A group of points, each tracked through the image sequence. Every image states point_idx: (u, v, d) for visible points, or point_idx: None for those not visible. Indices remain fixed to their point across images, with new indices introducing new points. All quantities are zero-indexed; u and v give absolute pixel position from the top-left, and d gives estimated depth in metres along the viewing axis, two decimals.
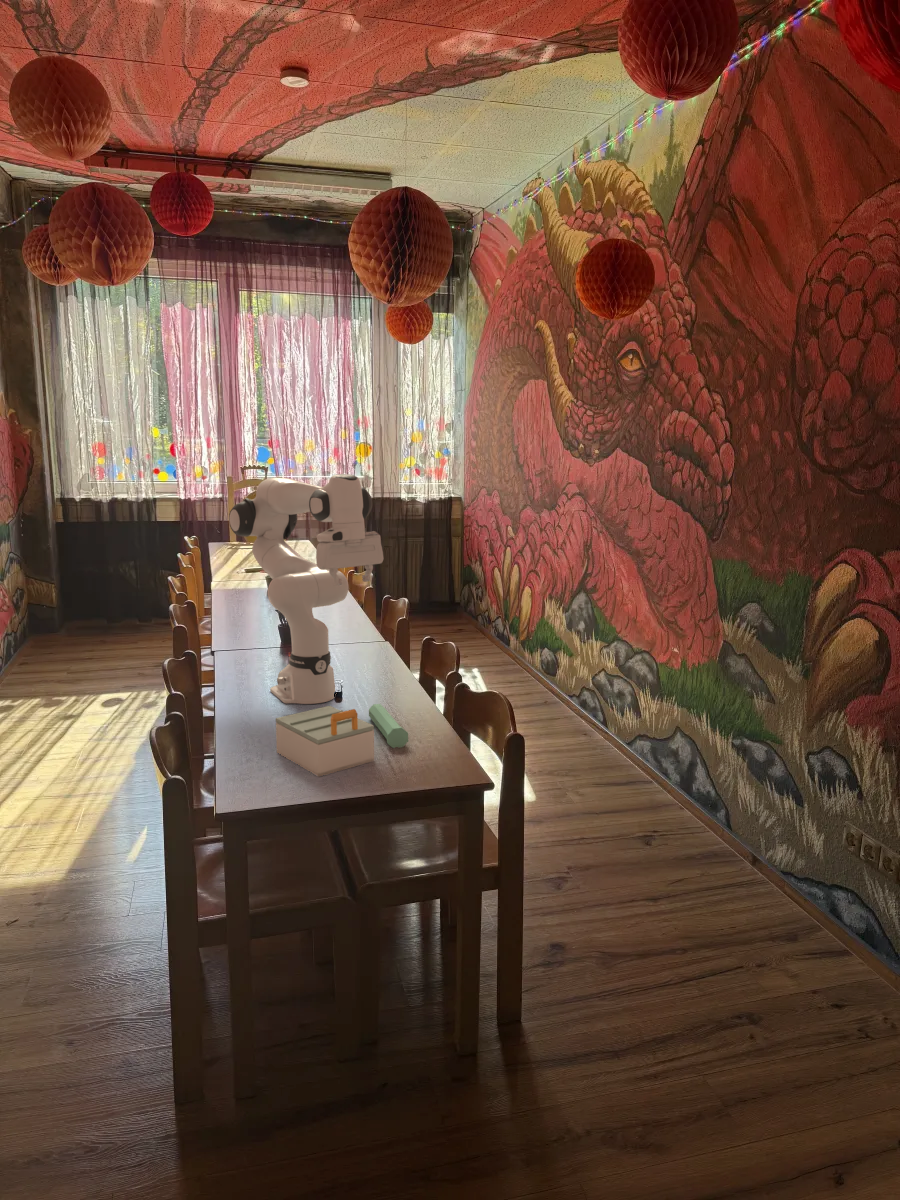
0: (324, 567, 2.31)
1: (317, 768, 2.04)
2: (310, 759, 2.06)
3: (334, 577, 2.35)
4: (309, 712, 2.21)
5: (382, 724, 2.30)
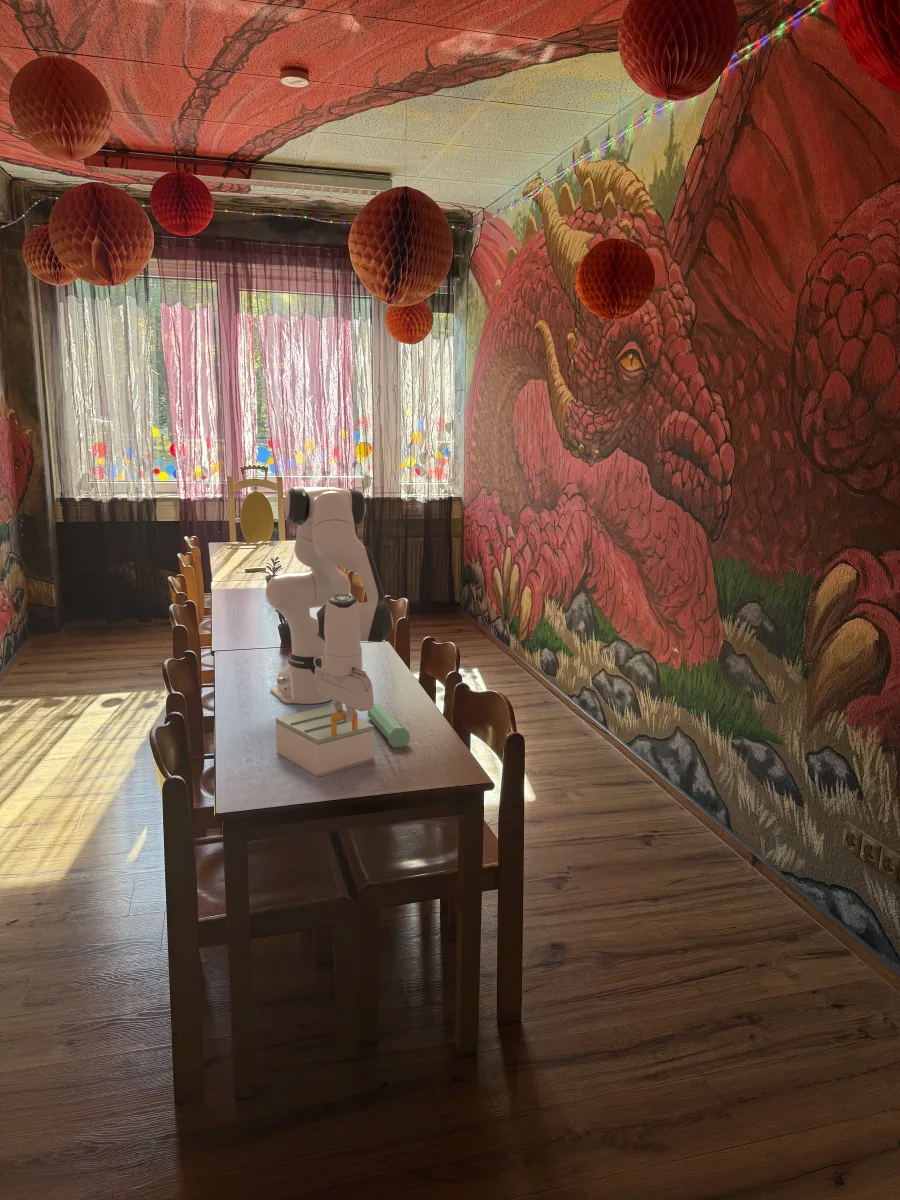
0: None
1: (317, 768, 2.04)
2: (310, 759, 2.06)
3: None
4: (309, 712, 2.21)
5: (383, 724, 2.30)
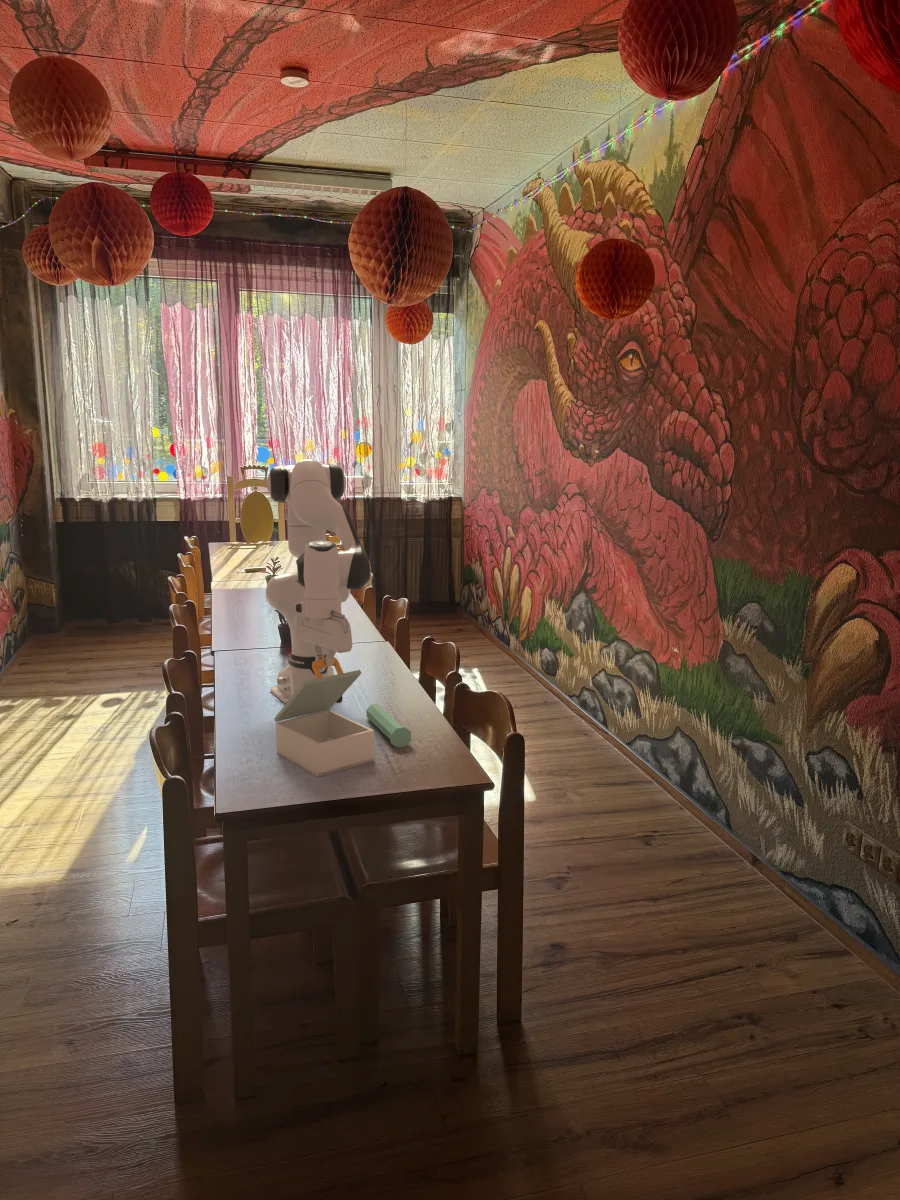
0: None
1: (317, 768, 2.04)
2: (310, 759, 2.06)
3: None
4: None
5: (383, 724, 2.30)
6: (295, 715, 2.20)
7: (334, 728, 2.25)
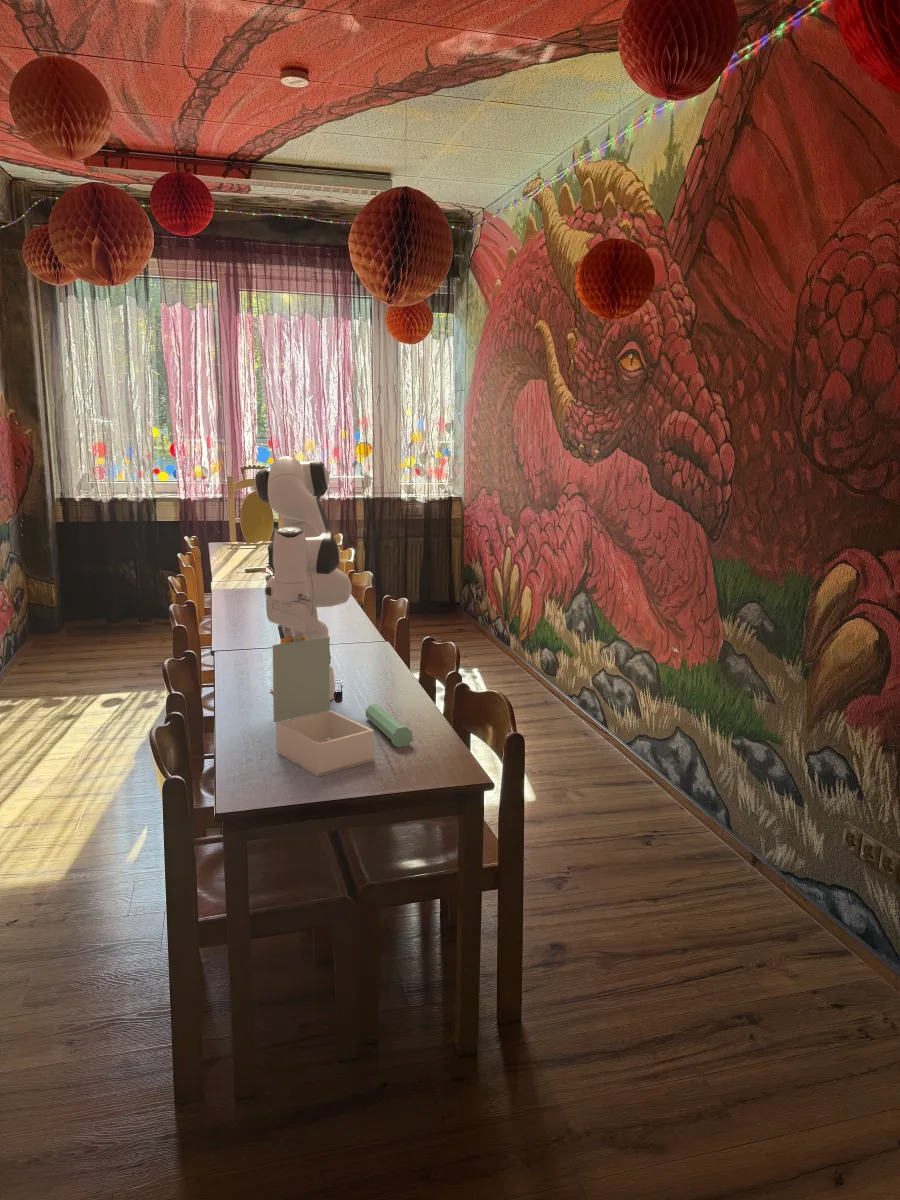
0: None
1: (317, 768, 2.04)
2: (310, 759, 2.06)
3: None
4: None
5: (384, 724, 2.30)
6: (293, 713, 2.20)
7: (334, 728, 2.25)
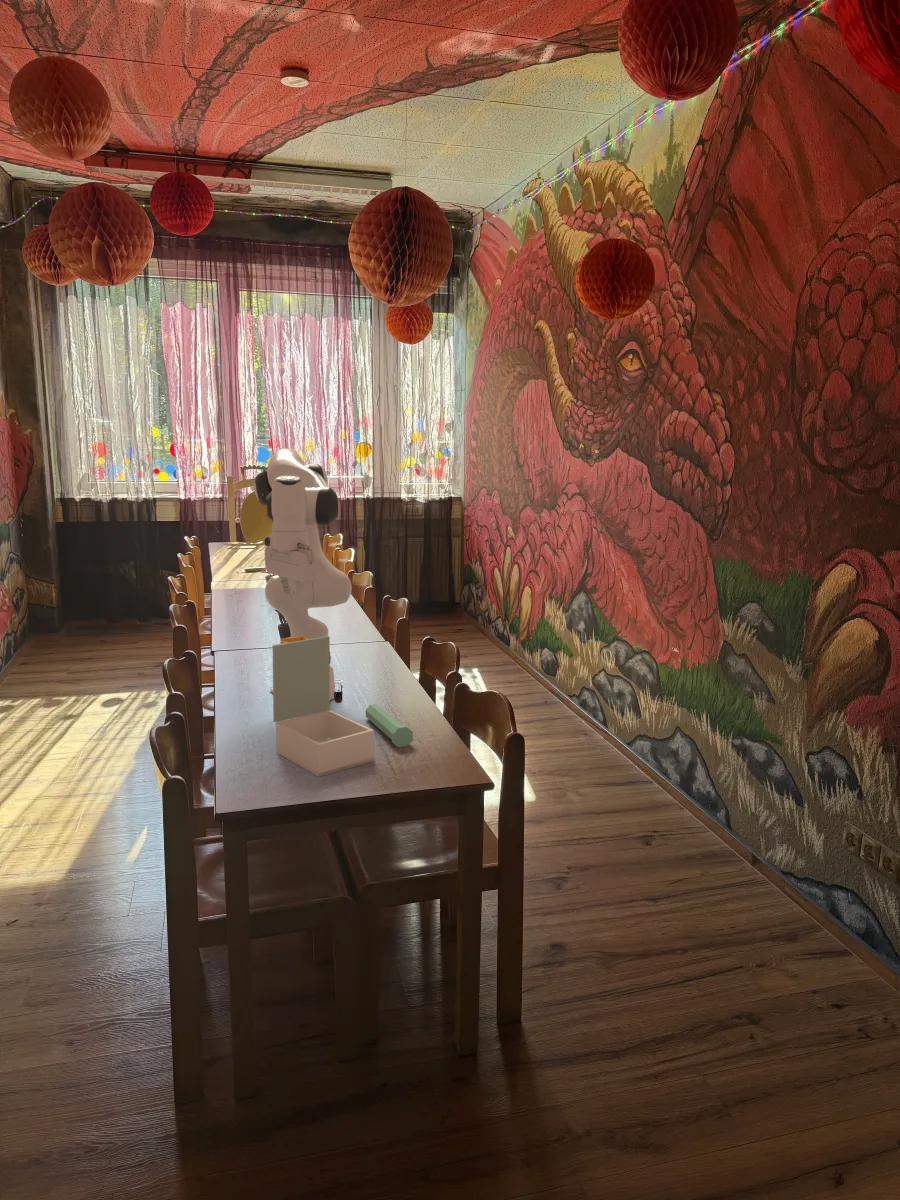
0: None
1: (317, 768, 2.04)
2: (310, 759, 2.06)
3: None
4: None
5: (384, 724, 2.30)
6: (293, 713, 2.20)
7: (334, 728, 2.25)
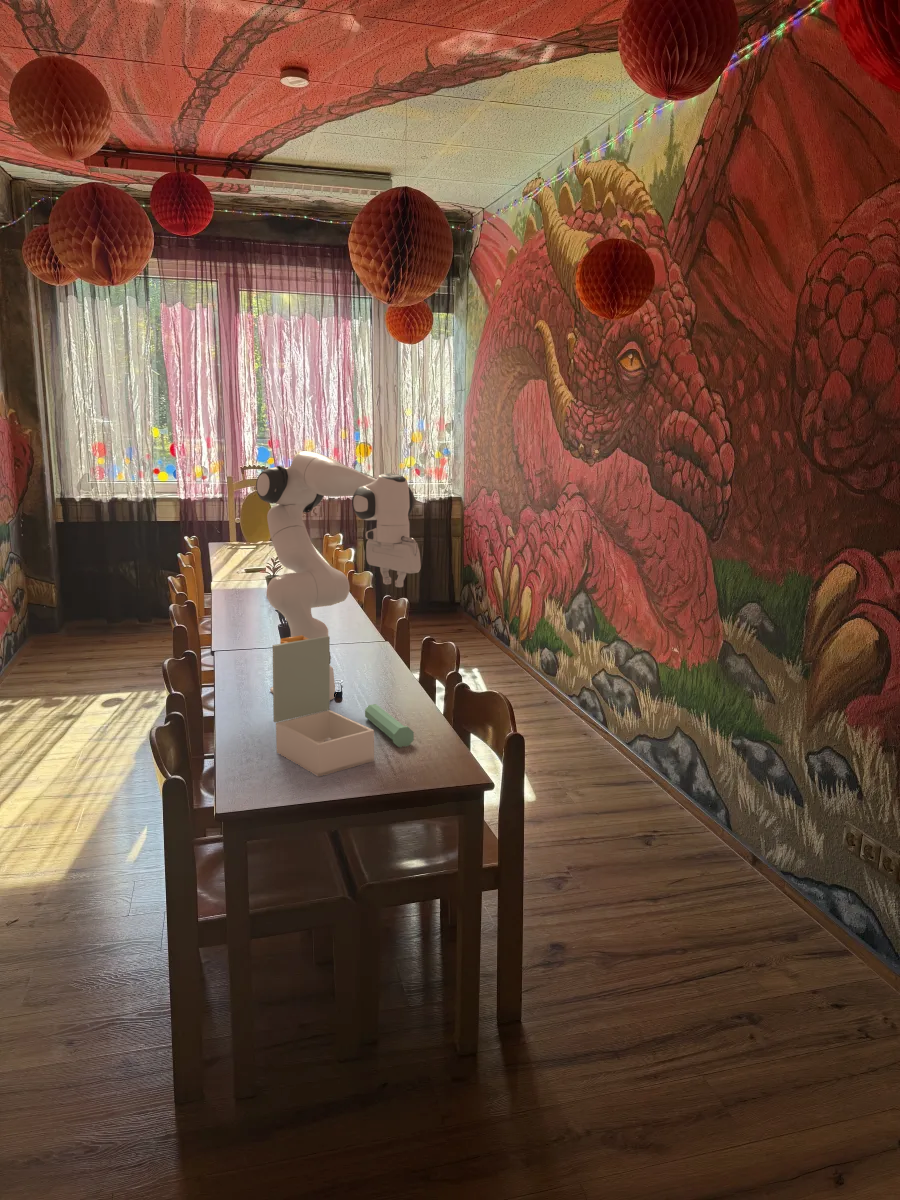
0: None
1: (317, 768, 2.04)
2: (310, 759, 2.06)
3: None
4: None
5: (384, 724, 2.30)
6: (293, 713, 2.20)
7: (334, 728, 2.25)
